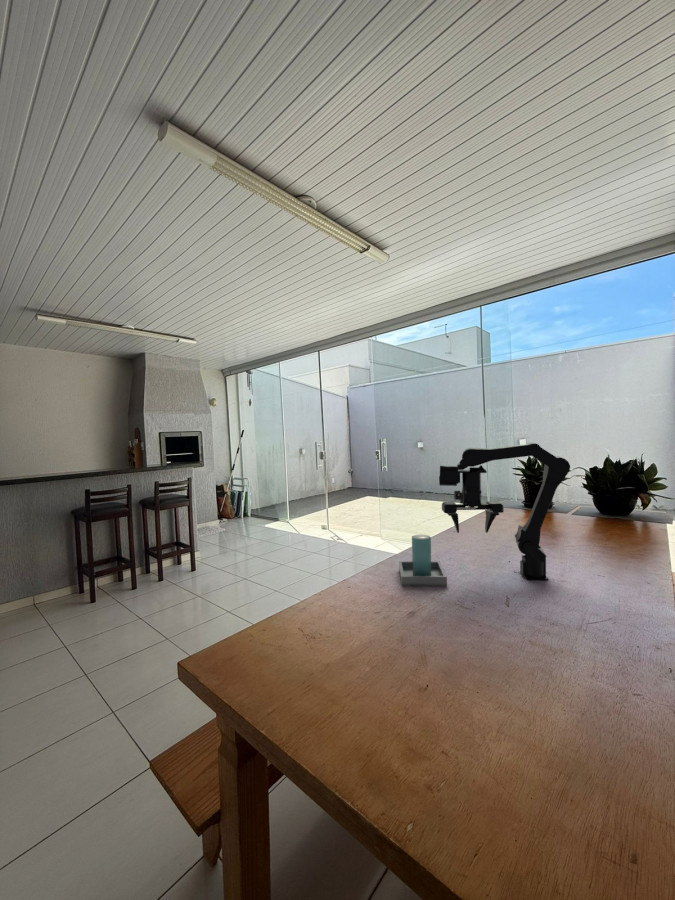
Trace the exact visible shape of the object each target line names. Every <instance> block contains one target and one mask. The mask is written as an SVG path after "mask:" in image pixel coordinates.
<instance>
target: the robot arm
mask: <svg viewBox="0 0 675 900" xmlns="http://www.w3.org/2000/svg"><path fill="white" fill-rule="evenodd" d="M525 457H533V458H535V460H537V461H538V462H540V463H541V464H543V465H544V467H543V472H542V483H541V485H540V489H539V491H538V493H537V495H536V499H535V500H534V504H533V506H532V508H531V512H530V514H529V517H528V519H527V521H526V523H525V524H524V525H523V526H522V525H520V524H519V525H518V527H517V532H516V533H515V534H514V538H515V543H516V545H517V548H518V550H519V551H520V553H521V554H522V555H521V560H520V561H519V567H520V568H519V573H520V574H521V575H522V576H523V577H524V579H526V580H528V581H532V580H533V581H536V580H537V581H548V580H549V577H548V576H547V555H546V553H545V552H544V550H543V548H542V546H540V542H541V529H542V526H543V523H544V522H545V519H546V516H547V514H548V511H549V509H550V506H551V504H552V501H553V498H554V496H555V494H556V491H557V488H558V487H559V486H560V485H561V484H562V483H563V481H565V479H566V477H567V475H568V474H569V472H570V470H571V464H570V462H569V461H568V460H567V459H566V458H564V457H561V456H558V455H554V454H552V453H550V452H549V451H548V450H546V449H544V448H543V447H542V446H540V445H539V444H538V443H536V442H529V443H526V444H518V445H517V444H516V445H511V446H504V447H503V446H502V447H495V448H486V447H485V448H481V447H468V448H466V449H465V450H463V452H462V456H461V459H460V461H459V462H457V464H456V465H440V466H439V477H438V478H439V479H438V482H439V483H438V484H439V486H440V487H457V486H458V484H460V483H461V482H462V488H461V491H460V490H454V491H453V500H454V501H443V502H442V503H441V510H442V511H443V513H444V514H447V515H448V516H449V517H451V520H452V522H453V524H454V527H455V531H456V533H457V534H459V533H460V524H459V514H458V513H457V511H477V510H478V511H481V510H482V511H484V510H485V526H484V531H485V533H486V534H487V533H489V530H490V528H491V526H492V523H493V521H494V520H495V518H496V517H497V516H500V513H501V514H502V513H504V512H505V511H504V505H503V503H501V502H499V501H498V500H487V501H486V502H485V503H482V488H481V485H482V484H481V483H482V480H481V479H482V478H481V477H482V476H481V475H482V474H486V473H487V469H486V468H484V467H483V464H486V463H489V462H492V461H493V462H494V461H499V460H506V459H515V458H525ZM476 466H478V467H476ZM468 467H469V469H467V468H468ZM461 477H462V481H461ZM455 501H459V504H458V503H456V502H455Z"/></svg>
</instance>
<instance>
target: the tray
mask: <svg viewBox="0 0 675 900" xmlns="http://www.w3.org/2000/svg"><path fill="white" fill-rule="evenodd" d="M398 565H399V566H398V569H399V575H400V576H399V577H400V582H401V583H400V584H401V587H440V586H447V587H448V578H447V577H448V576H447V574H446V573H445V570H444V568H443V566H442V563H441V562H440V560H439V561H438V560H437V561H436V560H431V570H432V576H413V568H412V560H407V561H406V560H405V561H402V560H401V561H400V560H399V561H398Z"/></svg>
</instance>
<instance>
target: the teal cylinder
mask: <svg viewBox="0 0 675 900" xmlns="http://www.w3.org/2000/svg"><path fill="white" fill-rule="evenodd" d="M411 561H412V568H413V576H432V570H431V561H432V537H431V536H430V535H426V534H414V535H412V536H411Z"/></svg>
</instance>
